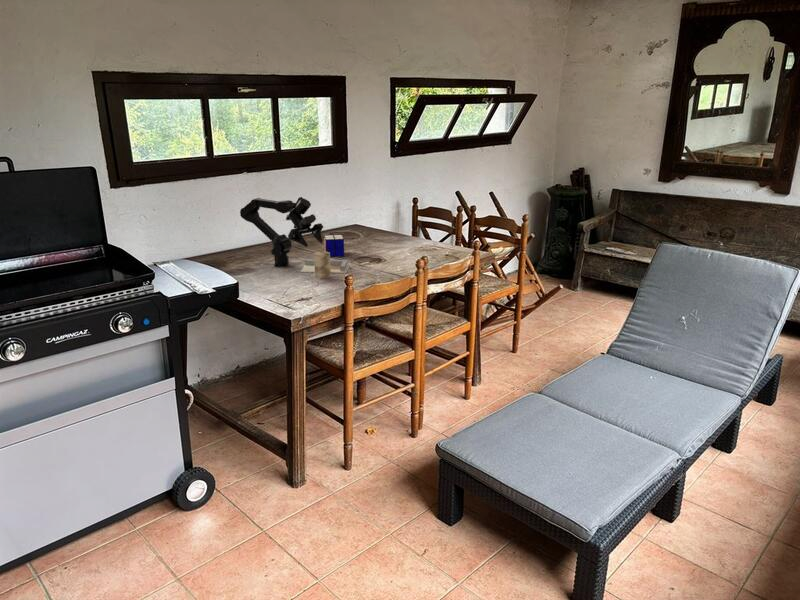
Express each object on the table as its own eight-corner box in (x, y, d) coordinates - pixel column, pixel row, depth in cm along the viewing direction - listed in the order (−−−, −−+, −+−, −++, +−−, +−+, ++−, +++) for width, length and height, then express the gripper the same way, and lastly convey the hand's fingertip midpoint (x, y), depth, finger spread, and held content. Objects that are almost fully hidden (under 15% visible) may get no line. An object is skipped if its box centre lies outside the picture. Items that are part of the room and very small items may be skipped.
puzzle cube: (326, 257, 329) (325, 239, 326) (324, 253, 338) (324, 235, 335) (344, 256, 331) (344, 238, 328) (342, 252, 340) (342, 234, 337)
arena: (300, 272, 300) (300, 266, 299) (305, 265, 313) (305, 259, 312) (346, 273, 299) (346, 267, 298) (349, 265, 312) (349, 260, 311)
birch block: (320, 279, 289) (319, 254, 286) (315, 277, 292) (314, 252, 289) (330, 276, 293) (329, 252, 289) (325, 274, 296) (324, 251, 293)
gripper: (288, 212, 288) (305, 237, 283) (318, 207, 300) (335, 230, 296) (280, 228, 295) (297, 252, 291) (310, 221, 308) (327, 244, 303)
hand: (314, 244), depth 295 cm, fingers open, 9 cm apart
